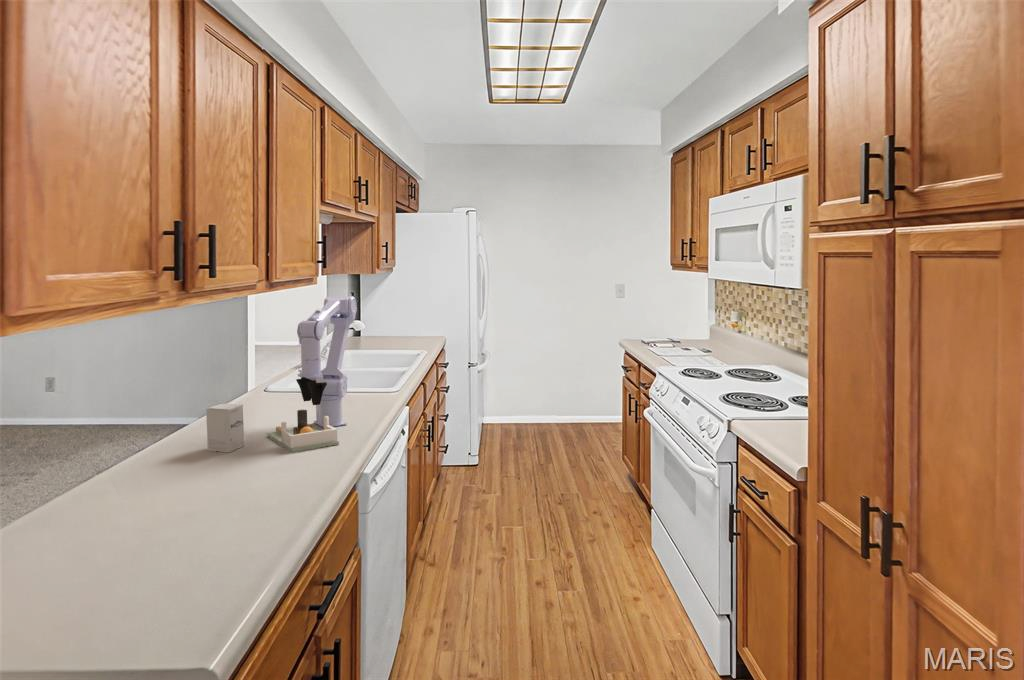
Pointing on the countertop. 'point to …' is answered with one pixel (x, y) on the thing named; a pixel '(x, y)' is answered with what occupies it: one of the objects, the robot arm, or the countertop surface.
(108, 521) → the countertop surface
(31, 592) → the countertop surface
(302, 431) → the ball
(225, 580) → the countertop surface
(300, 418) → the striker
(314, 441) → the pitch
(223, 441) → the supplement box
